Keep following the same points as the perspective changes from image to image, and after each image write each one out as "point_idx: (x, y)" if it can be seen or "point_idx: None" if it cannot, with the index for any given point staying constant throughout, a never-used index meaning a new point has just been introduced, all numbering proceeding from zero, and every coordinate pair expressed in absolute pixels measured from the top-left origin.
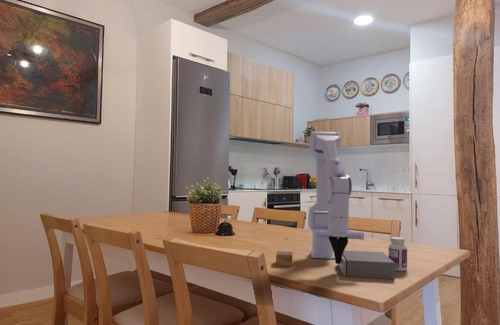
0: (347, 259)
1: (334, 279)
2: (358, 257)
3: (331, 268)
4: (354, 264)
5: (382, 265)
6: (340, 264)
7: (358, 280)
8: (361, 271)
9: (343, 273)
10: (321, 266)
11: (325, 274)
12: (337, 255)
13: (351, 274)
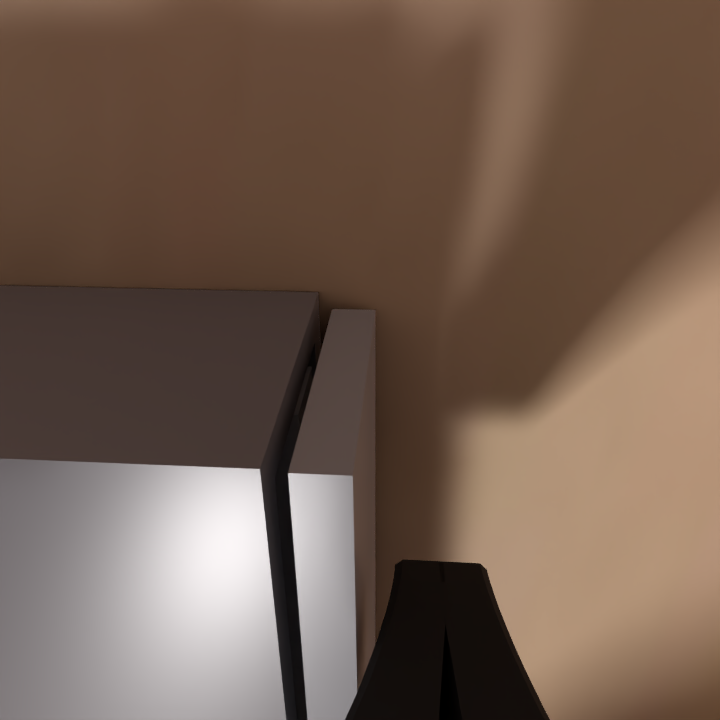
0: (243, 548)
1: (586, 62)
2: (12, 712)
3: None
4: (107, 405)
5: None
6: None
7: (123, 89)
8: (29, 331)
9: (370, 326)
10: (607, 714)
11: (670, 368)
12: (478, 698)
13: (230, 306)
